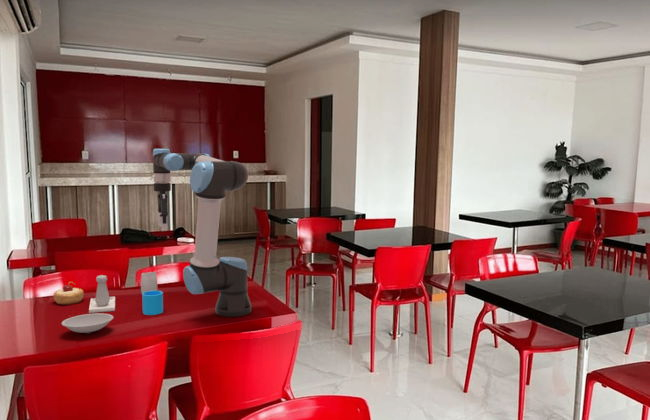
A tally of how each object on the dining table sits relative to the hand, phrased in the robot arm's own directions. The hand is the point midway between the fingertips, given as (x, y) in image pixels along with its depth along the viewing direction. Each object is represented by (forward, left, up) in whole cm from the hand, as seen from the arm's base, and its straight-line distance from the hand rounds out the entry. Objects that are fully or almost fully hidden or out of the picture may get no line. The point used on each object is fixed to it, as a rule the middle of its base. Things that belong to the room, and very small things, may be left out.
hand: (163, 228), depth 242 cm
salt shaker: (-10, +27, -31) cm, 42 cm away
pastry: (+2, +41, -32) cm, 52 cm away
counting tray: (-10, +27, -32) cm, 42 cm away
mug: (-23, +7, -32) cm, 40 cm away
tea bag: (+5, +7, -32) cm, 33 cm away
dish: (-43, +31, -32) cm, 61 cm away
